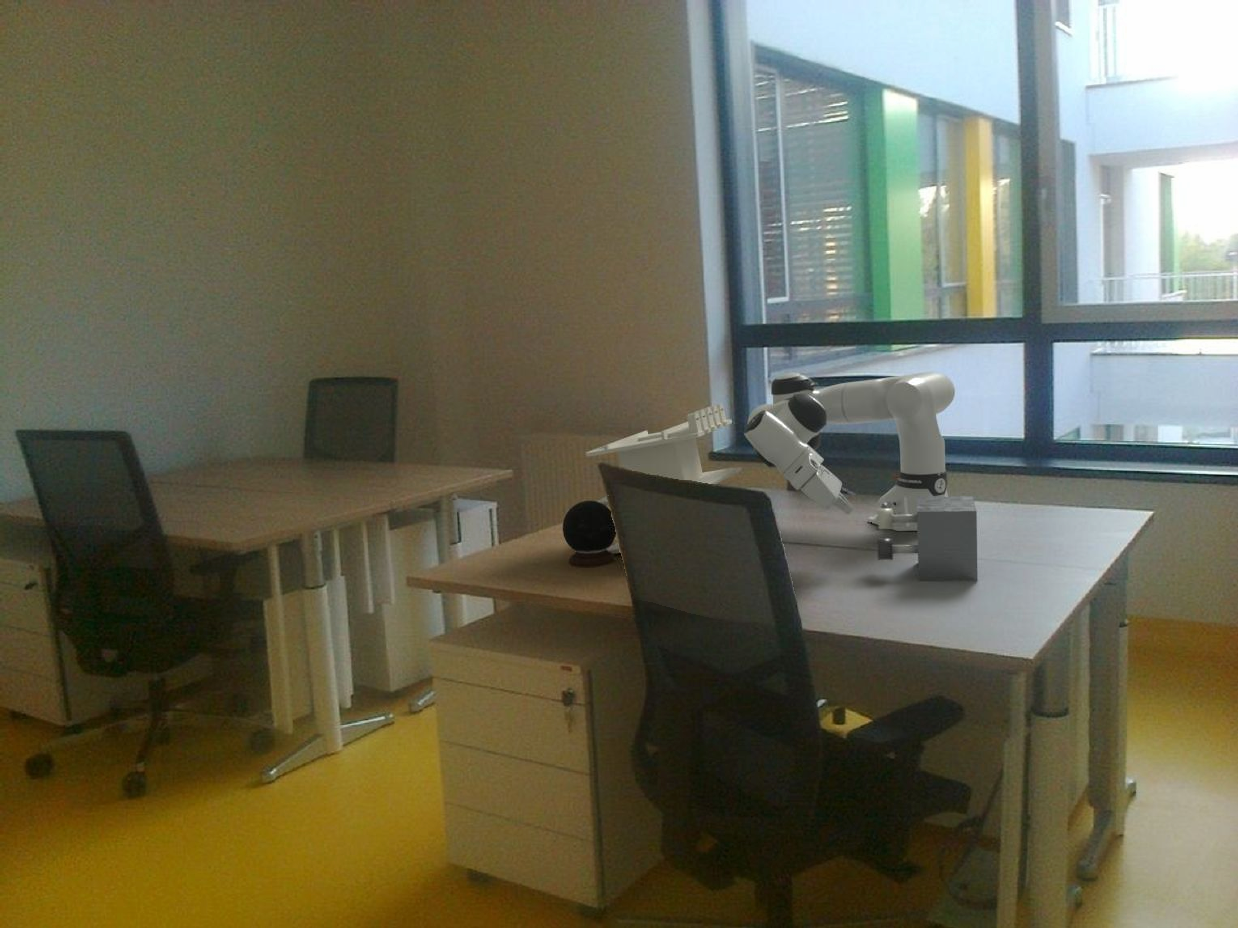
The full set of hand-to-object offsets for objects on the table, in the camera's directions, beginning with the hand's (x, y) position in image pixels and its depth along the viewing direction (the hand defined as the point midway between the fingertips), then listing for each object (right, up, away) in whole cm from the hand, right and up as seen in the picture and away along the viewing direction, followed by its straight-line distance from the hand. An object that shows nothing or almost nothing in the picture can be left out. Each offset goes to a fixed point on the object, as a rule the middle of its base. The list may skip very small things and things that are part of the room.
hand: (850, 511), depth 259 cm
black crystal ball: (-58, -13, +23) cm, 64 cm away
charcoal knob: (+9, -10, -9) cm, 16 cm away
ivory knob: (+11, -4, -2) cm, 12 cm away
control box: (+20, -13, -7) cm, 24 cm away
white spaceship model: (-38, -10, +36) cm, 53 cm away
